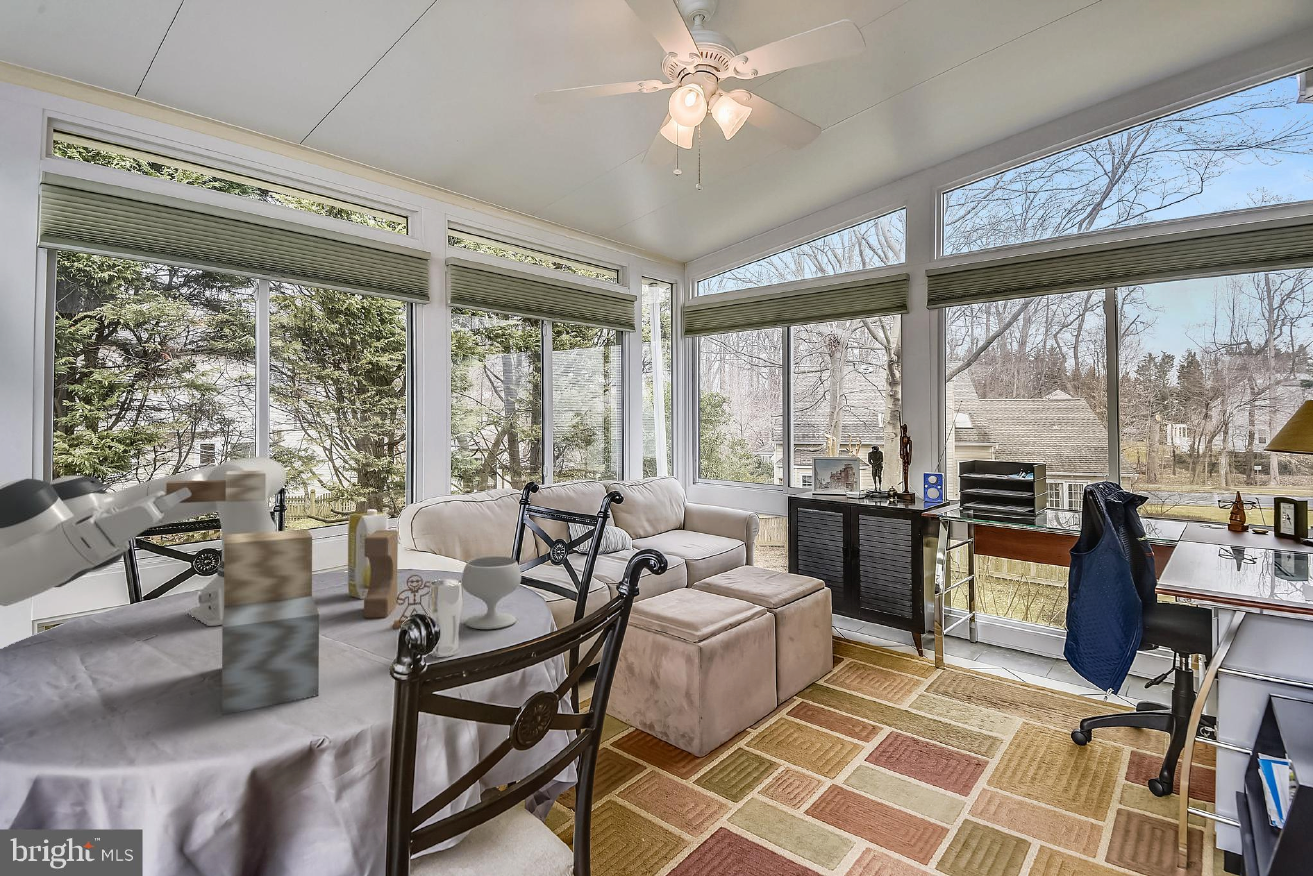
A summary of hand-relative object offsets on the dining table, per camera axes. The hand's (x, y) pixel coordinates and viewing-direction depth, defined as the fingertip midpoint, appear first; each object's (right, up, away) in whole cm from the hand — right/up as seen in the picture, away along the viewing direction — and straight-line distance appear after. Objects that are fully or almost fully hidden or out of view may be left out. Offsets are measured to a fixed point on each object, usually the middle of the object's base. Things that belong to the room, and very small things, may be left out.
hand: (190, 489), depth 111 cm
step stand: (+11, -36, +5) cm, 38 cm away
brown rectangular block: (+4, -2, +3) cm, 5 cm away
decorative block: (+13, -35, +48) cm, 61 cm away
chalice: (+43, -36, +41) cm, 69 cm away
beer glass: (+38, -36, +21) cm, 57 cm away
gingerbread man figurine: (+25, -36, +39) cm, 58 cm away
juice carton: (+2, -35, +63) cm, 72 cm away
